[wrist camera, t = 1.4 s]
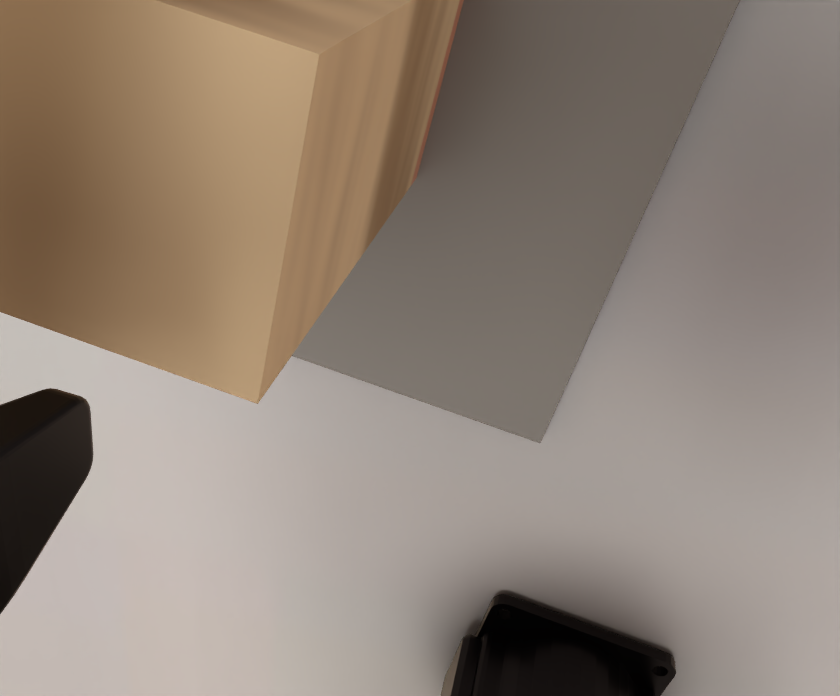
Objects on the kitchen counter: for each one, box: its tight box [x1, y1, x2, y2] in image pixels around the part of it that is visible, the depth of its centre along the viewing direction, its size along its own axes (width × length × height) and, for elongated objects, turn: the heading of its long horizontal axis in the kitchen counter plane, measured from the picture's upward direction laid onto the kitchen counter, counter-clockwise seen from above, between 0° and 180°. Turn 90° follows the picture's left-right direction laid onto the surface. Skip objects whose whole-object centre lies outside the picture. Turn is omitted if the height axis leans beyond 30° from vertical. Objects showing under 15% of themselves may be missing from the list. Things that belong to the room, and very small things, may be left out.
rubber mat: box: [292, 0, 740, 443], centre depth 18 cm, size 22×18×2 cm
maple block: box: [0, 0, 464, 404], centre depth 14 cm, size 5×5×10 cm
